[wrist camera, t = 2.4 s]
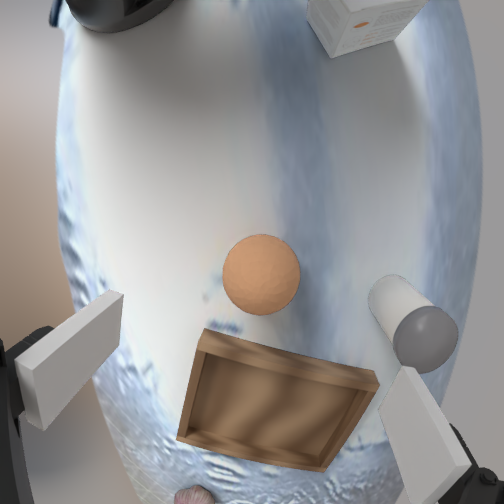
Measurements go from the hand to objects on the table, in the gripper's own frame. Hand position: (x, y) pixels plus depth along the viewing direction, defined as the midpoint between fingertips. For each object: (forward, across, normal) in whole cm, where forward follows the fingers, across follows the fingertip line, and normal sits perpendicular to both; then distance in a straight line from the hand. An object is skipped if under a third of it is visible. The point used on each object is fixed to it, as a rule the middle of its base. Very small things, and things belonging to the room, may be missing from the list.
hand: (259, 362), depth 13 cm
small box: (+19, +2, +26) cm, 32 cm away
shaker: (+19, +13, -1) cm, 23 cm away
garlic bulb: (+19, 0, -42) cm, 47 cm away
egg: (+19, -1, 0) cm, 19 cm away
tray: (+19, +5, -18) cm, 26 cm away
